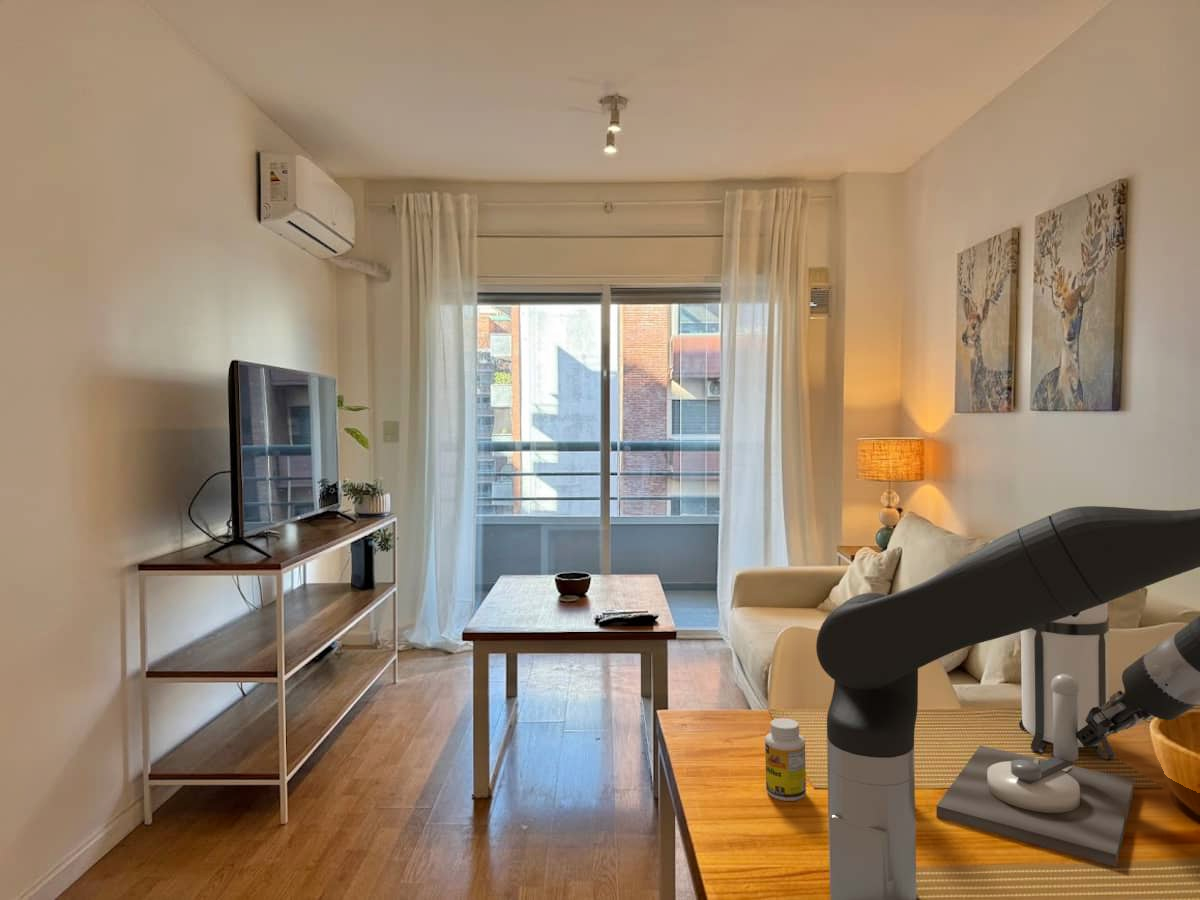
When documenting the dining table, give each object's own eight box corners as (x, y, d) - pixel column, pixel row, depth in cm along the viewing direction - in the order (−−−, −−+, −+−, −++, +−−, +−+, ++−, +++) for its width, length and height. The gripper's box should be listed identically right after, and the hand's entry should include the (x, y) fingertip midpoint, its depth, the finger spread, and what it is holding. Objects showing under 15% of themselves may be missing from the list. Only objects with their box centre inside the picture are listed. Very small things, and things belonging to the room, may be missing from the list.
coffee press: (1146, 751, 121) (1145, 561, 120) (1075, 770, 115) (1073, 571, 115) (1046, 714, 137) (1044, 547, 137) (979, 729, 132) (977, 554, 131)
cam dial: (1051, 821, 98) (1050, 706, 97) (970, 788, 107) (969, 683, 107) (1114, 788, 106) (1113, 682, 106) (1034, 760, 115) (1032, 663, 115)
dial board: (1116, 867, 90) (1116, 852, 90) (936, 816, 103) (936, 804, 103) (1134, 789, 109) (1133, 777, 109) (980, 754, 122) (980, 744, 121)
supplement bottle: (759, 788, 112) (757, 718, 112) (792, 782, 114) (791, 713, 114) (778, 805, 107) (777, 732, 107) (813, 799, 109) (812, 727, 108)
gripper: (1167, 713, 92) (1071, 777, 103) (1230, 692, 97) (1133, 755, 108) (1119, 658, 97) (1033, 725, 108) (1182, 641, 102) (1094, 707, 113)
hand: (1083, 740), depth 108 cm, fingers closed
